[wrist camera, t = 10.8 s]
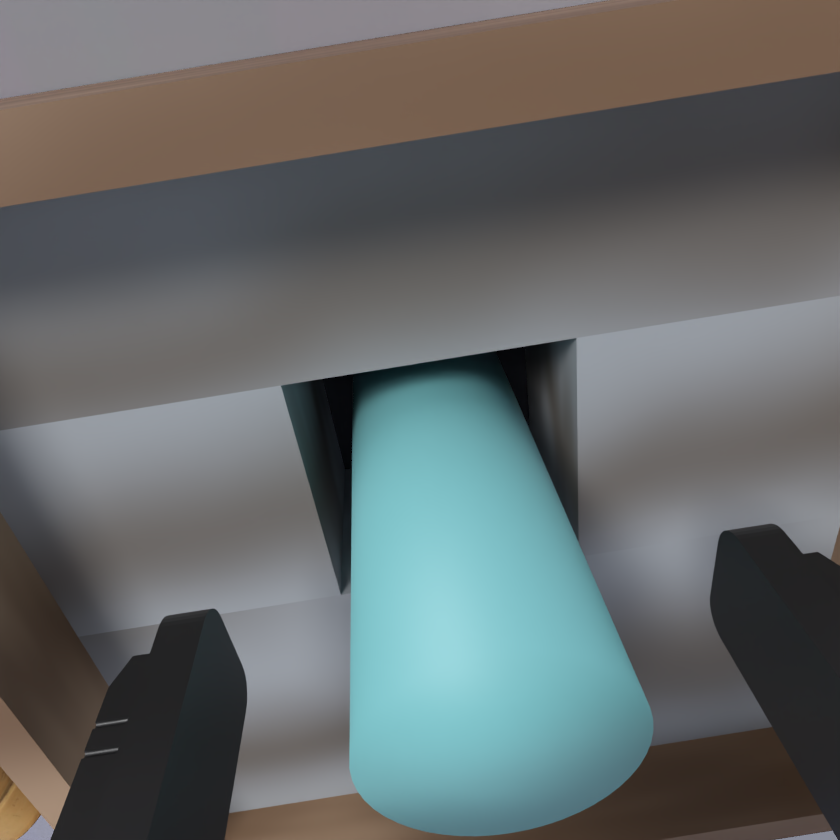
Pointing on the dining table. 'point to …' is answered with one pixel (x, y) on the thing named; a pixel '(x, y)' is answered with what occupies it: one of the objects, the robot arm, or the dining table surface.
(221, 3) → the dining table surface
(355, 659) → the peg
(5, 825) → the kendama
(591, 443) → the bore box
